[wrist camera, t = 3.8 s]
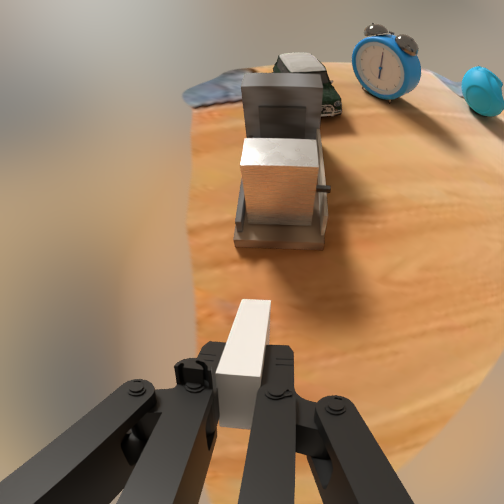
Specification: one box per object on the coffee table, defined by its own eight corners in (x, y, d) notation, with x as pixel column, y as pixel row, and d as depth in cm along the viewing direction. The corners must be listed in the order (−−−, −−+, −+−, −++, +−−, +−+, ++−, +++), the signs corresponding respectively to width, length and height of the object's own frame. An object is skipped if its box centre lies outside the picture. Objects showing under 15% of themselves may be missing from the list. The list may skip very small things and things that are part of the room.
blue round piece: (501, 133, 46) (518, 93, 36) (460, 114, 49) (475, 71, 39) (489, 107, 51) (503, 71, 41) (452, 91, 54) (463, 53, 44)
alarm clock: (347, 83, 54) (354, 20, 41) (364, 77, 55) (371, 18, 43) (400, 112, 48) (416, 44, 35) (414, 104, 50) (429, 41, 37)
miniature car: (293, 128, 46) (294, 86, 39) (269, 81, 56) (267, 47, 49) (344, 123, 47) (349, 83, 40) (310, 77, 56) (311, 44, 49)
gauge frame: (316, 139, 44) (320, 74, 34) (323, 250, 34) (339, 178, 24) (250, 137, 45) (244, 73, 35) (235, 246, 35) (219, 175, 25)
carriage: (324, 199, 36) (334, 140, 28) (326, 226, 33) (338, 168, 26) (251, 196, 36) (244, 138, 29) (248, 223, 34) (240, 165, 27)
